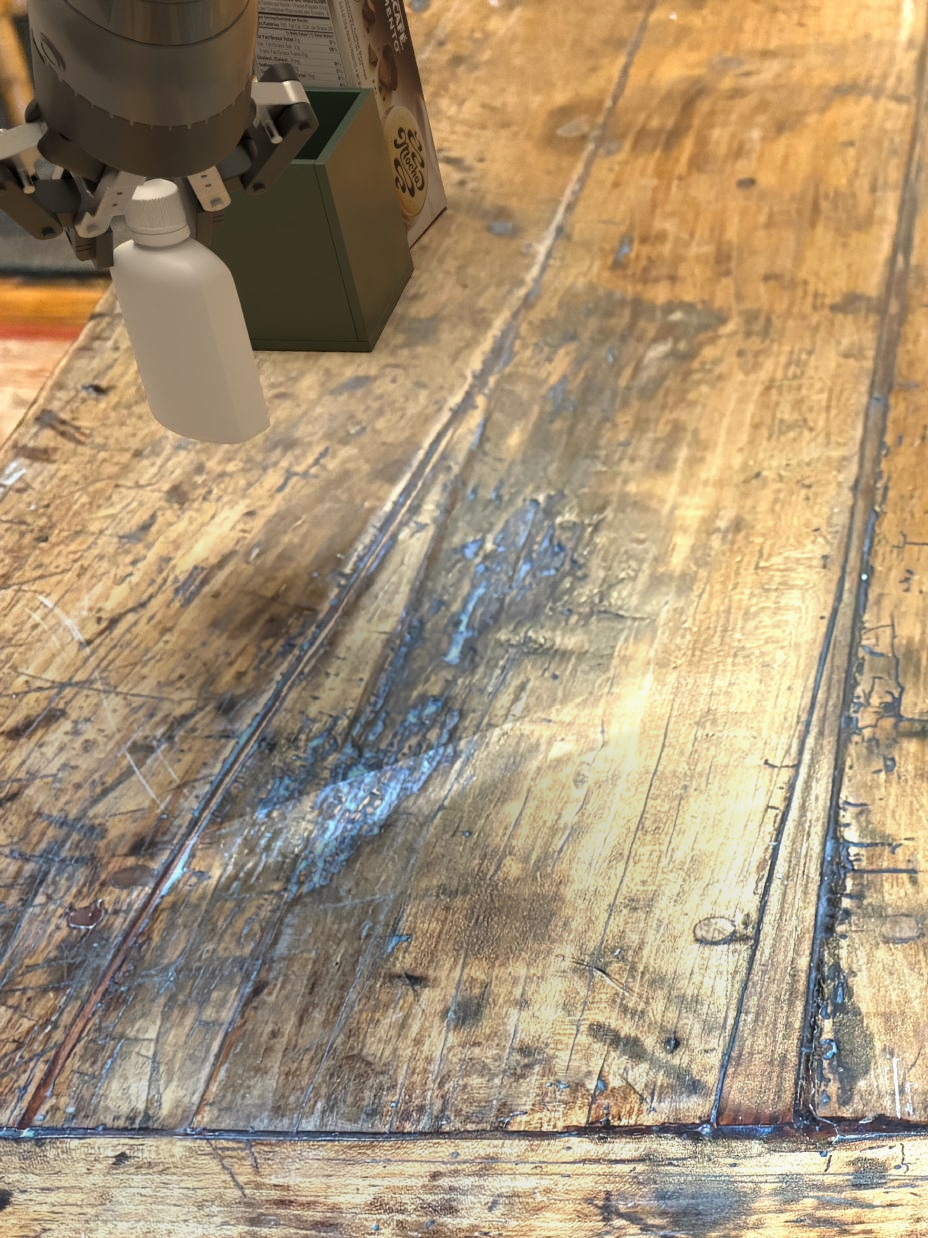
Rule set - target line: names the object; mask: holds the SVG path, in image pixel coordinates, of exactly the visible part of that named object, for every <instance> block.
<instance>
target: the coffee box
mask: <svg viewBox="0 0 928 1238" xmlns="http://www.w3.org/2000/svg"><path fill="white" fill-rule="evenodd" d="M406 12H407V11H406V7H405V3H404V0H258V15H259V30H258V37H256V47H255V58H254V69H253V72H254V74H255V78H256V82H258V81H259V80H260V78H261V77H262V76H263V74H264V73H265V71H266V70H267V69H268V68H269V67H271V66H273V65H275V64H278V63H290V64H292V65H293V67H294V69H295V71H296V74H297V76H298V78H299V80H300V82H301V85H302V87H340V88H373V89H374V93H375V98H376V102H377V106H378V111H379V115H380V120H381V124H382V129H383V133H384V138H385V142H386V146H387V151H388V155H389V160H390V164H391V169H392V173H393V177H394V182H395V186H396V191H397V195H398V200H399V204H400V208H401V213H402V217H403V222H404V226H405V231H406V235H407V239H408V244H409V248H410V249H411V247H412V246H413V244H415V242H416V241H417V240H418V239H419V238H420V237H421V235H422V234H423V233H424V232H425V231H426V229H428V227H429V226H430V225H431V224H432V223H433V222H434V220H435V219H436V218H437V217H438V215H440V214H441V212H442V211H443V210H444V209H445V208H446V206H447V205H448V200H447V195H446V191H445V187H444V183H443V179H442V173H441V169H440V165H439V160H438V155H437V151H436V147H435V140H434V137H433V132H432V128H431V123H430V118H429V115H428V109H427V105H426V100H425V96H424V92H423V90H424V89H423V86H422V81H421V76H420V72H419V67H418V63H417V58H416V54H415V53H416V52H415V48H414V45H413V39H412V35H411V30H410V26H409V20H408V17H407V13H406Z"/></svg>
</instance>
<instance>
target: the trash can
mask: <svg viewBox="0 0 928 1238" xmlns="http://www.w3.org/2000/svg"><path fill="white" fill-rule="evenodd" d="M303 89H304V91H305V93H306V96H307V98H308V100H309V102H310V104H311V107H312V109H313V111H314V113H315V116H316V118H317V120H318V122H319V126H318V128H317V129H316V130H315V132H314V133H313V134H312V136H311V137H310V138H309V140H308V141H307V142H306V144H305V145H304V146H303V147H302V149H301V150H300V151H299V153H298V154H297V155H296V157H295V158H294V159H293V161H292V162H291V163H290V164H289V166H288V167H287V168H286V170H285V171H284V172H283V174H282V175H281V176H280V178H279V179H278V180H277V181H276V183H275V184H274V185H273V187H272V188H271V189H270V190H269V191H267V192H265V193H263V194H259V195H248V194H246V192H245V190H244V188H241V189H239V190H236V191H234V192H232V193H231V194H229V197H230V199H231V203H230V204H229V205H228V206H227V207H225V208H224V219H223V226H222V227H221V229H220V230H219V231H218V232H215V233H212V234H211V245H208V246H205V247H207V248H208V249H209V250H211V251H212V252H213V253H214V254H215V255H217V256H218V257H219V258H220V259H221V260H222V261H223V262H224V264H225V265H226V266H227V267H228V269H229V270H230V272H231V275H232V277H233V280H234V283H235V287H236V290H237V294H238V298H239V301H240V305H241V309H242V312H243V316H244V320H245V324H246V328H247V332H248V336H249V339H250V343H251V347H252V351H254V350H257V351H259V350H261V351H309V352H312V351H313V352H315V351H316V352H322V351H323V352H364V353H365V352H366V353H367V352H372V351H373V349H374V347H375V345H376V343H377V341H378V339H379V337H380V335H381V333H382V331H383V329H384V328H385V326H386V324H387V322H388V319H389V317H390V316H391V314H392V312H393V310H394V308H395V307H396V304H397V302H398V300H399V298H400V297H401V294H402V293H403V291H404V289H405V287H406V285H407V283H408V281H409V279H410V277H411V276H412V273H413V271H414V269H415V267H414V263H413V257H412V253H411V247H410V248H409V244H408V239H407V235H406V231H405V226H404V222H403V217H402V213H401V208H400V204H399V200H398V195H397V191H396V186H395V182H394V177H393V173H392V169H391V164H390V160H389V155H388V151H387V146H386V142H385V138H384V133H383V129H382V124H381V120H380V115H379V111H378V106H377V102H376V98H375V93H374V89H373V88H340V87H303ZM163 180H167V181H170V182H172V183H174V178H172V179H163Z"/></svg>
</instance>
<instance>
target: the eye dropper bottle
mask: <svg viewBox="0 0 928 1238" xmlns="http://www.w3.org/2000/svg"><path fill="white" fill-rule="evenodd" d="M123 216H124V219H125V223H126V226H127V229H128V233H129V236H130V239H129V240H127V241H125V242H123V243H121V244H119V245H118V246H117V247H116V248H113V259H114V266H113V267H109V272H110V276H111V280H112V283H113V287H114V290H115V294H116V298H117V302H118V305H119V309H120V311H121V315H122V318H123V322H124V326H125V329H126V332H127V335H128V339H129V343H130V346H131V349H132V352H133V356H134V359H135V363H136V367H137V369H138V373H139V376H140V380H141V383H142V387H143V389H144V393H145V396H146V400H147V403H148V406H149V410H150V413H151V415H152V416H153V419H154V420H155V421H156V422H157V423H158V424H159V425H161V426H162V427H164V428H165V429H166V430H168V431H170V432H172V433H174V434H176V435H178V436H180V437H184V438H187V439H191V440H194V441H198V442H202V443H203V442H204V443H209V444H210V443H211V444H217V445H218V444H219V445H241V444H242V443H246V442H248V441H249V440H252V439H254V438H255V437H257V436H259V435H261V434H262V433H264V432H266V431H267V430H268V429H269V428H270V427H271V420H270V415H269V411H268V406H267V403H266V399H265V395H264V390H263V387H262V383H261V379H260V375H259V371H258V368H257V364H256V360H255V356H254V355H255V354H254V352H253V351H254V350H252V347H251V343H250V339H249V336H248V332H247V328H246V324H245V320H244V316H243V312H242V309H241V305H240V301H239V298H238V294H237V290H236V287H235V283H234V280H233V277H232V275H231V272H230V270H229V269H228V267H227V266H226V265H225V264H224V262H223V261H222V260H221V259H220V258H219V257H218V256H217V255H215V254H214V253H213V252H212V251H211V250H209V249H208V248H207V247H205V246H204V245H202V244H201V243H199V242H197V241H196V240H194V239H192V238H191V237H190V236H189V235H190V229H189V226H188V222H187V218H186V214H185V210H184V207H183V203H182V199H181V195H180V192H179V188H178V186H177V185H175V184H174V183H172V182H170V181H167V180H163V179H152V180H149V181H146V182H144V184H143V186H137V188H136V190H135V192H134V195H133V197H132V199H131V201H130V203H129V206H128V208H127V210H126V212H125V214H124V215H123Z"/></svg>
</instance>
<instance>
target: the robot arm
mask: <svg viewBox="0 0 928 1238" xmlns="http://www.w3.org/2000/svg"><path fill="white" fill-rule="evenodd" d="M26 5H27V6H26V7H27V16H28V18H27V19H28V30H29V39H30V50H31V62H32V72H33V79H34V86H35V95H34V96H33V97H32V99H31V100H30V101H29V102H28V104H27V106H26V107H25V110H24V114H23V115H24V123H23V124H22V123H21V124H20V125H17V126H13V127H12V128H9V129H7V128H0V210H1V211H3V212H4V213H5V214H6V215H7V216H9V218H10V219H12V220H13V221H14V222H15V223H17V225H19V226H20V227H21V228H22V229H23V230H24V231H25V232H27V233H28V234H29V235H31V236H32V238H34V239H35V240H38V241H47V240H53V239H55V238H58V237H59V236H60V235H62V234H63V233H64V235H65V236H66V238H67V240H68V242H69V244H70V247H71V248H72V251H73V253H74V255H75V257H76V258H77V259H78V260H79V261H80V262H86V261H91V263H92V265H93V267H94V268H95V269H96V271H99V270H103V269H104V270H105V269H110V267H113V266H114V259H113V251H114V231H113V228H112V227H111V225H110V224H111V222H112V220H113V218H114V216H124V214H125V212H126V210H127V208H128V206H129V203H130V201H131V199H132V197H133V195H134V192H135V190H136V188H137V186H143V184H144V182H146V181H149V180H152V179H172V178H174V184H175V185H177V186H178V188H179V192H180V195H181V199H182V203H183V207H184V210H185V214H186V218H187V222H188V226H189V229H190V235H189V236H190V237H191V238H192V239H194V240H196V241H197V242H199V243H201V244H202V245H204V246H208V245H211V234H212V233H215V232H218V231H219V230H220V229H221V227H222V226H223V219H224V208H225V207H227V206H228V205H229V204H230V203H231V199H230V197H229V194H231V193H232V192H234V191H236V190H239V189H241V188H244V190H245V192H246V194H248V195H259V194H263V193H265V192H267V191H269V190H270V189H271V188H272V187H273V185H274V184H275V183H276V181H277V180H278V179H279V178H280V176H281V175H282V174H283V172H284V171H285V170H286V168H287V167H288V166H289V164H290V163H291V162H292V161H293V159H294V158H295V157H296V155H297V154H298V153H299V151H300V150H301V149H302V147H303V146H304V145H305V144H306V142H307V141H308V140H309V138H310V137H311V136H312V134H313V133H314V132H315V130H316V129H317V128H318V126H319V122H318V120H317V118H316V116H315V113H314V111H313V109H312V107H311V104H310V102H309V100H308V98H307V96H306V93H305V91H304V89H303V87H302V85H301V82H300V80H299V78H298V76H297V74H296V71H295V69H294V67H293V65H292V64H290V63H278V64H275V65H273V66H271V67H269V68H268V69H267V70H266V71H265V73H264V74H263V76H262V77H261V78H260V80H259V81H258V82H257V81H253V77H254V58H255V47H256V37H258V30H259V15H258V0H26ZM40 158H43V159H44V160H46V161H47V162H49V163H51V164H54V166H55V168H54V171H53V174H52V176H51V179H50V178H49V179H47V178H45V179H44V178H43V179H41V178H40V176H39V173H38V171H37V167H36V162H37V161H38V160H39V159H40Z"/></svg>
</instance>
